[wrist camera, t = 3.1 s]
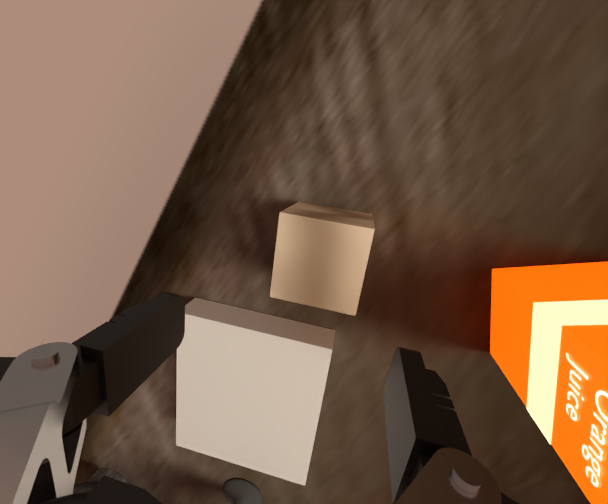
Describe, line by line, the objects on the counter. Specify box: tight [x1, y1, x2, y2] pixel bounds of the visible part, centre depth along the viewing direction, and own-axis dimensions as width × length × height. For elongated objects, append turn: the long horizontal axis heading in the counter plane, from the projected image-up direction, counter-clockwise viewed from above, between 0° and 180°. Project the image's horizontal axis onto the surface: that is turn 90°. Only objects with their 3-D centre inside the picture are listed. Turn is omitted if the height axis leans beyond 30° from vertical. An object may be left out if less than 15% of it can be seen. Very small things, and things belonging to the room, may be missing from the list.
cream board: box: [176, 298, 336, 486], centre depth 29 cm, size 14×16×3 cm
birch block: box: [270, 201, 375, 316], centre depth 22 cm, size 6×6×6 cm
